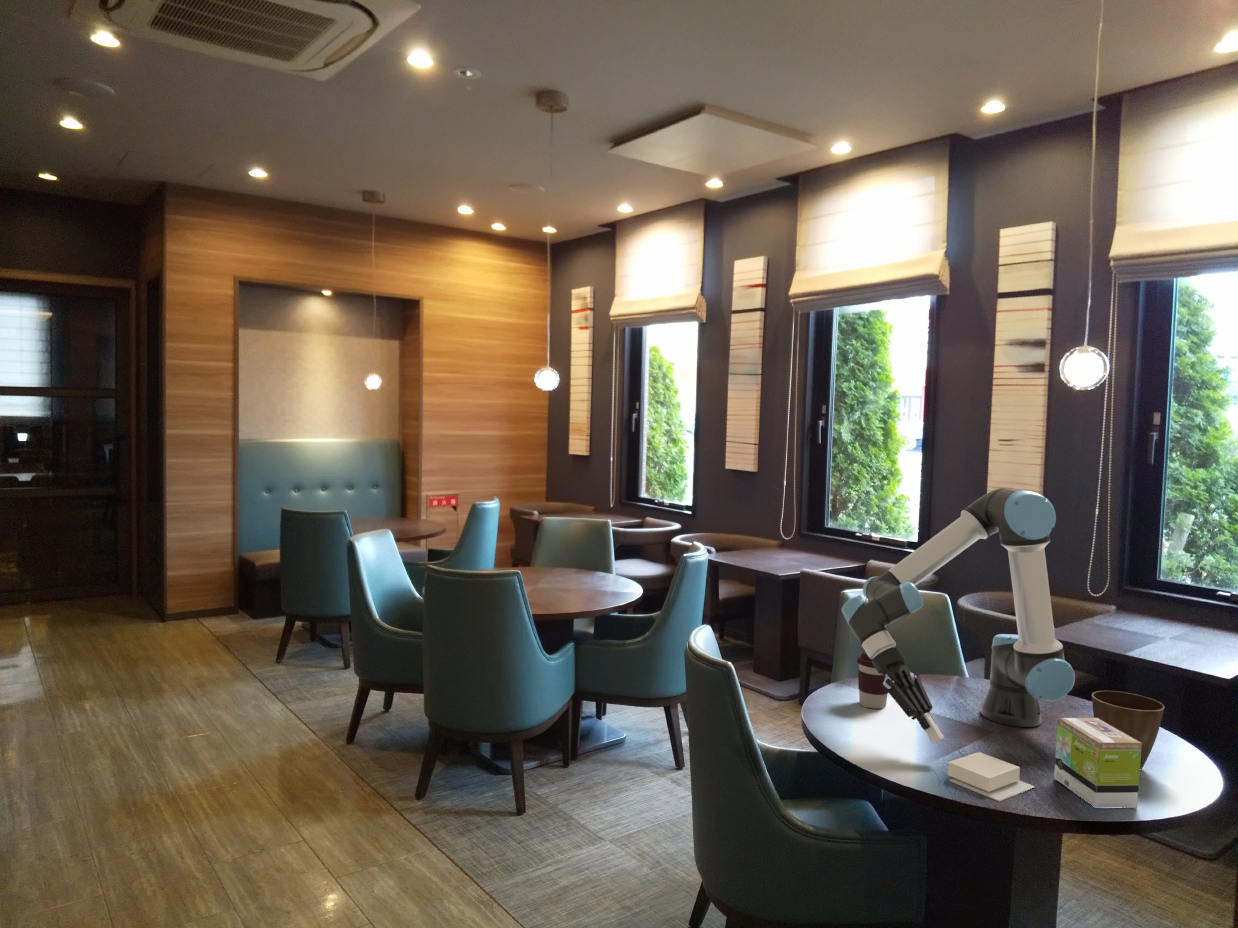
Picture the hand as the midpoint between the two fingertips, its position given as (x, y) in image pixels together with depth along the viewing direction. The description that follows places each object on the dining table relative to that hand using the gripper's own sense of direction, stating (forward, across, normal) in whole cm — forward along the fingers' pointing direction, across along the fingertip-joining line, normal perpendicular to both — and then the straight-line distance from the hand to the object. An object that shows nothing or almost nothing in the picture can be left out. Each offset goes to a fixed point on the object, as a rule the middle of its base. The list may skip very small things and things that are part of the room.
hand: (938, 740), depth 200 cm
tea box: (+24, -15, +16) cm, 33 cm away
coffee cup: (-20, -21, -28) cm, 41 cm away
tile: (+7, 0, +3) cm, 7 cm away
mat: (+14, 0, +6) cm, 15 cm away
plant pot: (+21, -38, +14) cm, 46 cm away
